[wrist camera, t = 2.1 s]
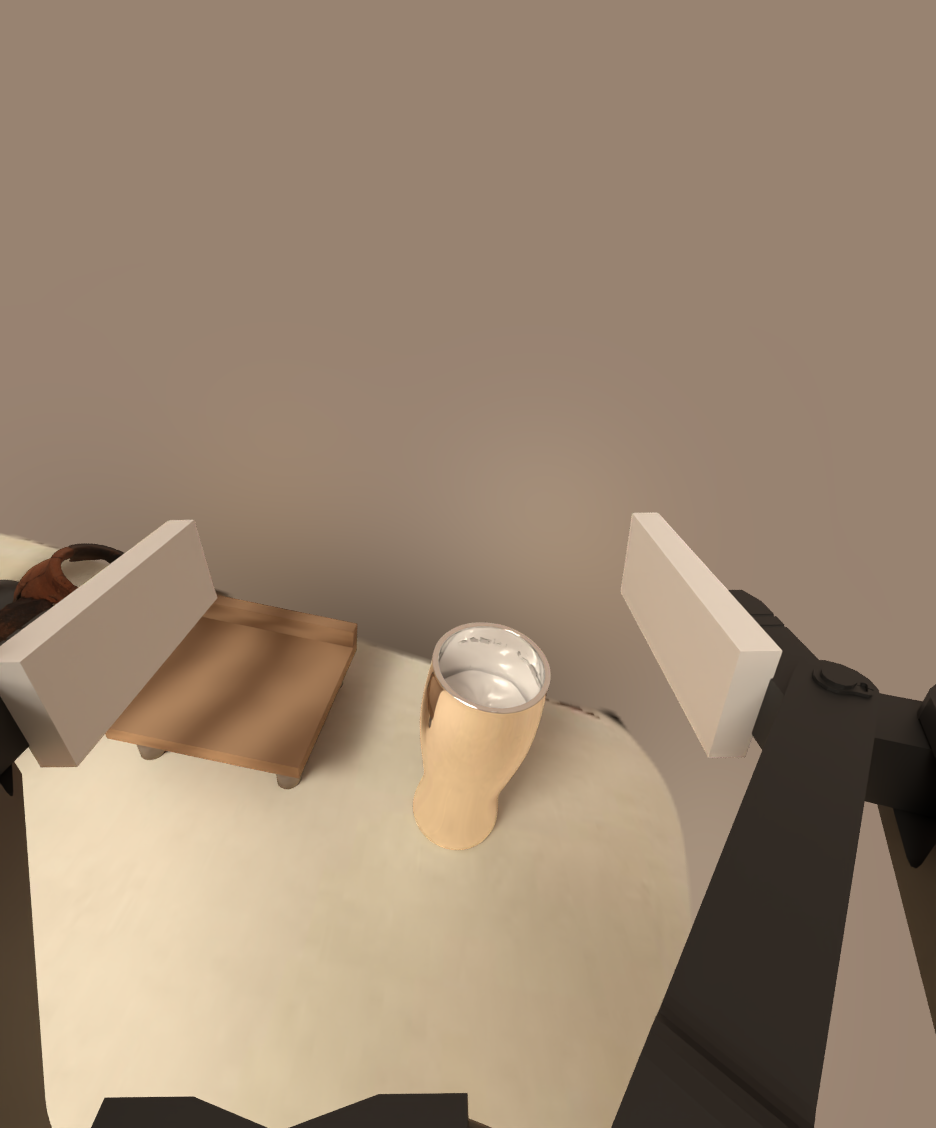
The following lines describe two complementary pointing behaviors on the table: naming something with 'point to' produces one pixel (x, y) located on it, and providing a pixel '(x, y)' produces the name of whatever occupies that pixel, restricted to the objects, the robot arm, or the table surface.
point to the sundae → (7, 592)
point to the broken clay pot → (47, 585)
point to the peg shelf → (243, 689)
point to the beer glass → (476, 728)
